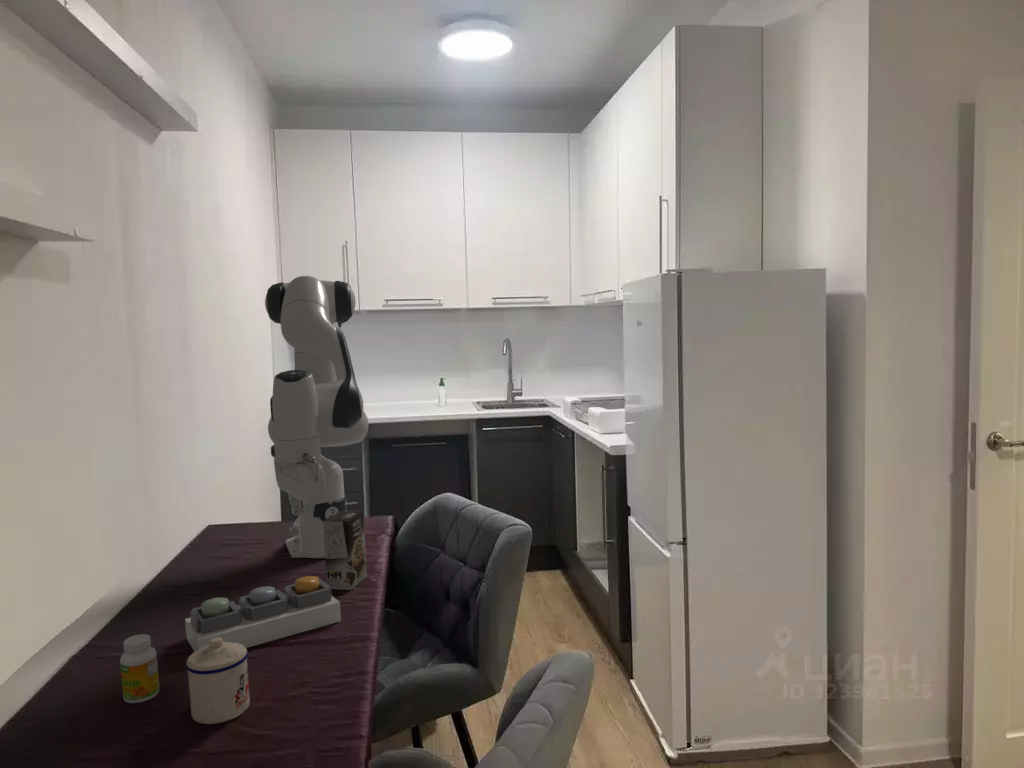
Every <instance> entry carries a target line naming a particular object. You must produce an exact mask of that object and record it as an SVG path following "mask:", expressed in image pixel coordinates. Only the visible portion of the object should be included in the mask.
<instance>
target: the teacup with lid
mask: <svg viewBox="0 0 1024 768" xmlns="http://www.w3.org/2000/svg"><path fill="white" fill-rule="evenodd" d="M248 656H249V652H248V649H247V648H245V647H244V646H243V645H242V644H239V643H233V642H223V639H222V638H220V637H216V638H213V639H211V640H210V641H209V645H207V646H205V647H203V648H201V649H199V650H197V651H195V652H194V651H193V652H192V654H190V655H189V656H188V658H187V660H186V663H185V669H186V671H187V675H188V687H189V688H188V689H189V698H190V710H191V711H190V712H191V713H190V714H191V717H192V720H194V721H195V722H196V723H198V724H199V723H200V724H204V725H215V724H222V723H225V722H229V721H231V720H234V719H235V718H237V717H239V716H241V715H242V714H244V713H245V712H246V711H247V710H248V708H249V706H250V703H251V700H250V699H251V698H250V684H249V682H250V681H249V671H248V670H249V669H248Z"/></svg>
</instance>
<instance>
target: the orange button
mask: <svg viewBox="0 0 1024 768" xmlns="http://www.w3.org/2000/svg"><path fill="white" fill-rule="evenodd" d="M319 580H320V578H319V577H318V576H316V575H315V576H314V575H306V576H301V577H298V578H297V579H295V580H294V584H295V592H296V593H298V594H305V593H309V592H313V591H317V590H319Z"/></svg>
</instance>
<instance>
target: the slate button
mask: <svg viewBox="0 0 1024 768" xmlns="http://www.w3.org/2000/svg"><path fill="white" fill-rule="evenodd" d="M275 590H276V588H275V587H274V586H261V587H256V588H253V589H251V590H250V591H249V595H250V603H251V604H252V605H261V604H265V603H269V602H273V601H275V600H276V594H275Z"/></svg>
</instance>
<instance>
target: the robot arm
mask: <svg viewBox="0 0 1024 768" xmlns="http://www.w3.org/2000/svg"><path fill="white" fill-rule="evenodd" d="M264 298H265V299H264V306H265V310H266V313H267V314H268V318H269V319H270V320H271V321H272V322H273V323H274V324H279V325H280V329H281V334H282V336H283V338H284V340H285V342H286V343H287V344H289V346H291V347H292V348H293V349H294V350H293V353H294V355H293V356H294V357H293V358H294V369H291V370H285V371H281V372H279V373H277V374H275V376H274V378H273V385H272V395H271V396H270V399H269V403H270V404H269V405H270V419H269V421H268V423H267V425H268V426H267V431H268V432H267V433H268V436H269V438H270V440H271V441H272V443H273V445H271V446H270V455H271V457H273V464H274V472H275V473H274V474H275V480H276V484H277V487H278V489H280V490H281V491H283V492H285V493H287V494H288V500H289V504H290V506H291V514H292V515H294V516H296V517H297V516H298V517H297V518H296V519H295V520H294V522H293V526H292V527H289V528H288V535H289V537H290V538H287V539H285V546H286V547H287V548H286V549H287V550H288V553H289V555H290V557H291V558H293V559H299V558H300V559H302V558H307V559H308V558H309V559H325V544H324V525H323V521H324V520H326V519H327V518H329V517H331V516H332V515H334V514H336V513H337V512H339V511H348V510H347V509H348V500H347V496H346V495H345V484H344V481H345V480H344V471H343V469H342V467H341V465H340V464H338V463H337V462H336V461H333V460H332V459H329V458H327V457H325V456H323V455H322V449H321V448H329V447H345V446H350V445H354V444H357V443H358V444H359V443H361V442H362V441H363V440H364V439H365V437H366V436H367V435H368V431H369V420H368V416H367V414H366V412H365V411H364V400H363V399H364V398H363V396H362V393H361V391H360V388H359V386H358V383H357V379H356V375H355V372H354V366H353V362H352V358H351V354H350V349H349V348H348V347H349V346H348V343H347V340H346V336H345V335H344V332H343V331H342V329H341V328H342V325H343V324H344V323H347V322H348V321H349V320H350V319H351V318H352V317H353V314H354V311H355V308H356V305H357V304H356V301H357V300H356V296H355V293H354V291H353V290H352V287H351V285H350V284H349V283H348V282H346V281H341V280H335V281H331V280H319V279H318V278H316V277H314V276H310V275H301V276H297V277H295V278H293V279H292V280H291V281H290V282H283V281H282V282H277V283H274V284H271V286H270V287H268V289H267V292H266V295H265V297H264ZM334 323H337V325H338V327H336V326H335V325H334Z"/></svg>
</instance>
